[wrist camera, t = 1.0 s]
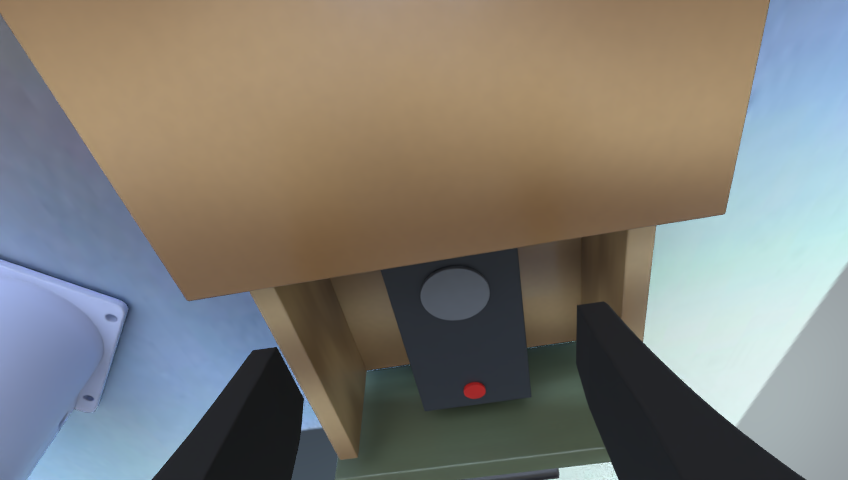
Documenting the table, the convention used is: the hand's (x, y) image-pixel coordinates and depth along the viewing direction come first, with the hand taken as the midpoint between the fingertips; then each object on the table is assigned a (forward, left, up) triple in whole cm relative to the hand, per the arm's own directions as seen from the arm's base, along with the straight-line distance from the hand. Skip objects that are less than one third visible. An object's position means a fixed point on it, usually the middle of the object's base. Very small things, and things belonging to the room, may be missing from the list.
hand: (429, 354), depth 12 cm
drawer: (-4, -5, -9) cm, 11 cm away
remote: (-3, -3, -8) cm, 9 cm away
